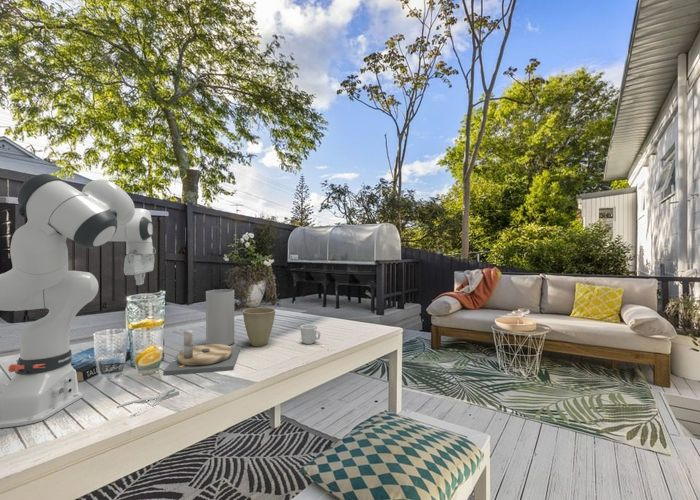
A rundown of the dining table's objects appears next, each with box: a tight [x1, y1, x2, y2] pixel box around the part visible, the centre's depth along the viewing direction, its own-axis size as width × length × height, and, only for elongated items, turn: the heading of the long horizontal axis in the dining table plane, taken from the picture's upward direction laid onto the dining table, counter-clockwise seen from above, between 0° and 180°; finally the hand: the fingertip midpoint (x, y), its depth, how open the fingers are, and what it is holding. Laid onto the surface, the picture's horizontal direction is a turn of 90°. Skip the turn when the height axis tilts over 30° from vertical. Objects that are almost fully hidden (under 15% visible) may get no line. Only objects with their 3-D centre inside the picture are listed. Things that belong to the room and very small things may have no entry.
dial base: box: [162, 346, 241, 376], centre depth 135 cm, size 24×24×2 cm
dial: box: [177, 329, 232, 365], centre depth 135 cm, size 20×20×12 cm
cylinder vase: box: [205, 288, 235, 346], centre depth 159 cm, size 12×12×25 cm
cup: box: [299, 323, 321, 345], centre depth 160 cm, size 11×8×8 cm
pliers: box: [116, 387, 180, 416], centre depth 101 cm, size 10×2×15 cm
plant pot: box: [242, 307, 276, 347], centre depth 159 cm, size 15×15×16 cm
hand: (139, 284), depth 133 cm, fingers closed
